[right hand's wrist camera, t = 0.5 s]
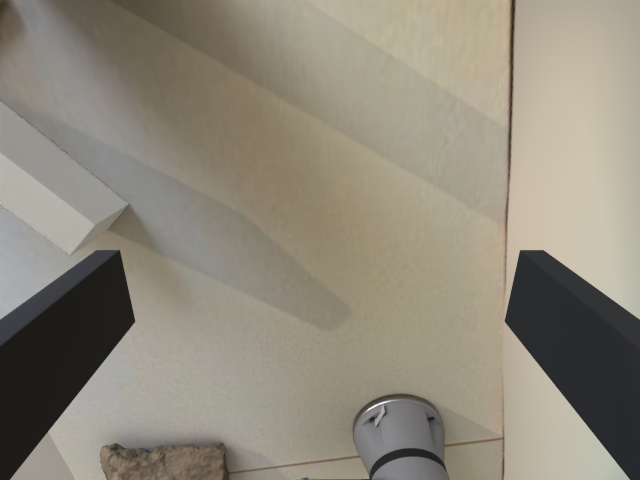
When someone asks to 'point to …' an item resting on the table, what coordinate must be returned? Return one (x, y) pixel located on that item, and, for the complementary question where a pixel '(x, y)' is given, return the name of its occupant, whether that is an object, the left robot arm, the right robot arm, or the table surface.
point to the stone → (165, 463)
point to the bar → (51, 187)
